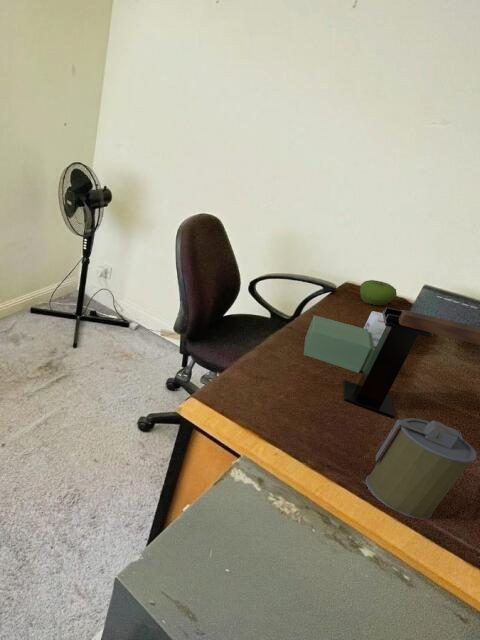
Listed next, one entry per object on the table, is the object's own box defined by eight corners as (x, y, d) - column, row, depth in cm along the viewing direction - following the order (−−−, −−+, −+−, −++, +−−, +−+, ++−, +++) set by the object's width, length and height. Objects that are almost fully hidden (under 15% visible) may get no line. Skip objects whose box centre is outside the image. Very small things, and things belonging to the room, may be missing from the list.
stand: (389, 398, 115) (433, 314, 104) (393, 419, 108) (441, 331, 97) (342, 383, 121) (380, 302, 110) (343, 401, 114) (384, 317, 103)
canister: (429, 495, 88) (479, 427, 80) (435, 532, 81) (490, 461, 72) (362, 465, 94) (402, 399, 86) (362, 496, 87) (406, 427, 79)
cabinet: (356, 354, 134) (368, 329, 130) (358, 373, 125) (370, 347, 121) (304, 338, 141) (314, 315, 138) (303, 356, 132) (312, 331, 129)
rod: (522, 351, 91) (529, 339, 90) (526, 357, 89) (534, 346, 87) (398, 319, 102) (403, 309, 101) (399, 324, 100) (404, 314, 99)
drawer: (380, 359, 130) (390, 339, 127) (383, 377, 122) (394, 356, 118) (313, 339, 139) (321, 320, 136) (312, 355, 131) (321, 335, 128)
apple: (371, 310, 159) (383, 288, 155) (346, 297, 169) (356, 276, 165) (396, 310, 160) (408, 288, 156) (370, 296, 170) (381, 275, 166)
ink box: (390, 347, 137) (406, 317, 133) (395, 354, 133) (412, 324, 129) (357, 338, 141) (372, 309, 136) (361, 346, 137) (376, 316, 133)
